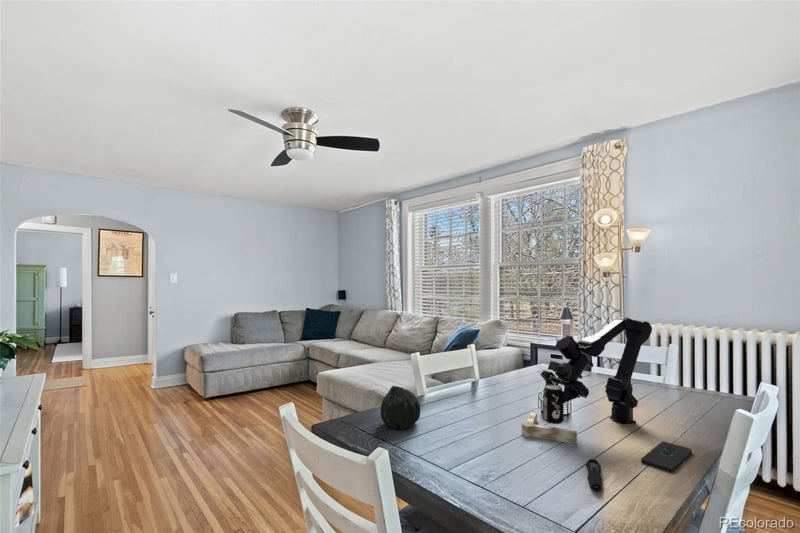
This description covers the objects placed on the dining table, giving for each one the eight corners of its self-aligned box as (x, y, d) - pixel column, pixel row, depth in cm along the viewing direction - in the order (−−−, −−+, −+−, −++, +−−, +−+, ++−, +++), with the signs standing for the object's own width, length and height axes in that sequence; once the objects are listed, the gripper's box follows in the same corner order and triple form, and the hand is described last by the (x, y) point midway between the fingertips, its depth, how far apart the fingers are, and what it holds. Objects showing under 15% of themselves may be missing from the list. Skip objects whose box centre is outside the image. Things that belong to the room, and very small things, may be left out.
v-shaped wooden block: (534, 419, 149) (534, 410, 149) (580, 443, 128) (580, 432, 128) (505, 423, 145) (505, 414, 145) (547, 449, 124) (547, 437, 124)
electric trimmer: (587, 493, 99) (587, 481, 99) (585, 466, 113) (585, 455, 113) (604, 497, 97) (604, 484, 97) (600, 468, 112) (600, 457, 112)
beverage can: (567, 422, 138) (567, 387, 138) (556, 426, 134) (555, 390, 134) (551, 416, 143) (550, 383, 143) (539, 420, 139) (539, 386, 140)
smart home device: (693, 448, 121) (673, 468, 108) (693, 454, 121) (673, 475, 108) (661, 440, 128) (639, 458, 115) (662, 445, 128) (639, 464, 115)
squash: (434, 411, 142) (413, 375, 149) (407, 424, 131) (385, 385, 138) (413, 430, 149) (393, 395, 156) (385, 443, 138) (365, 405, 145)
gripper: (544, 348, 149) (520, 380, 145) (581, 358, 132) (555, 394, 128) (561, 367, 152) (537, 399, 148) (600, 379, 134) (575, 416, 130)
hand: (550, 401), depth 138 cm, fingers closed on beverage can, 6 cm apart
